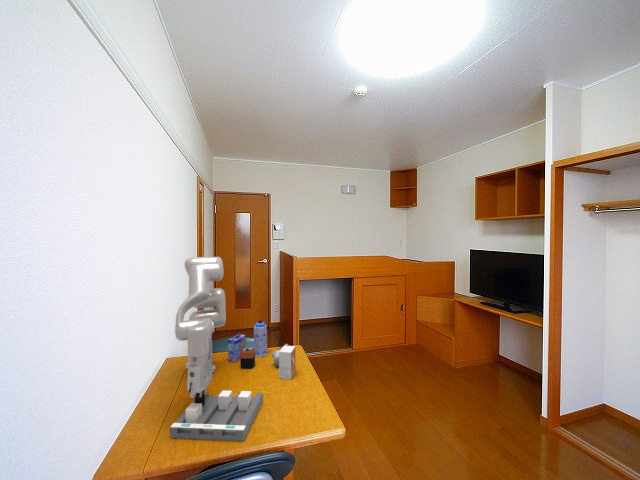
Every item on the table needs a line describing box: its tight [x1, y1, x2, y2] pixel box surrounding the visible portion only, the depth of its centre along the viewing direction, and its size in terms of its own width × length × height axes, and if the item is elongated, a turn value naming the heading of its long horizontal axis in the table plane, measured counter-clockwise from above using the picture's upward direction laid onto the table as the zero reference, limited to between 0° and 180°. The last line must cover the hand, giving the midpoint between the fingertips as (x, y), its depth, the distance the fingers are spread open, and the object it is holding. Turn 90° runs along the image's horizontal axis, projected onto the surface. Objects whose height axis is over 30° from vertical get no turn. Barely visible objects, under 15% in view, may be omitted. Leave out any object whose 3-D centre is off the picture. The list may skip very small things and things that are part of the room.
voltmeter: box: [271, 335, 290, 367], centre depth 149 cm, size 27×11×10 cm, turn 27°
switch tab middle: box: [218, 389, 233, 410], centre depth 105 cm, size 4×4×5 cm
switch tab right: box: [238, 390, 253, 411], centre depth 105 cm, size 4×4×5 cm
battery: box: [239, 347, 256, 370], centre depth 142 cm, size 4×7×10 cm, turn 87°
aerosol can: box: [253, 319, 268, 358], centre depth 157 cm, size 8×8×20 cm
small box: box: [278, 345, 297, 380], centre depth 133 cm, size 8×6×13 cm
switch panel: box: [169, 390, 264, 442], centre depth 101 cm, size 26×22×4 cm
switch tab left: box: [184, 402, 202, 424], centre depth 97 cm, size 4×4×5 cm
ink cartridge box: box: [227, 332, 247, 363], centre depth 152 cm, size 10×6×14 cm, turn 160°
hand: (199, 405), depth 101 cm, fingers closed
